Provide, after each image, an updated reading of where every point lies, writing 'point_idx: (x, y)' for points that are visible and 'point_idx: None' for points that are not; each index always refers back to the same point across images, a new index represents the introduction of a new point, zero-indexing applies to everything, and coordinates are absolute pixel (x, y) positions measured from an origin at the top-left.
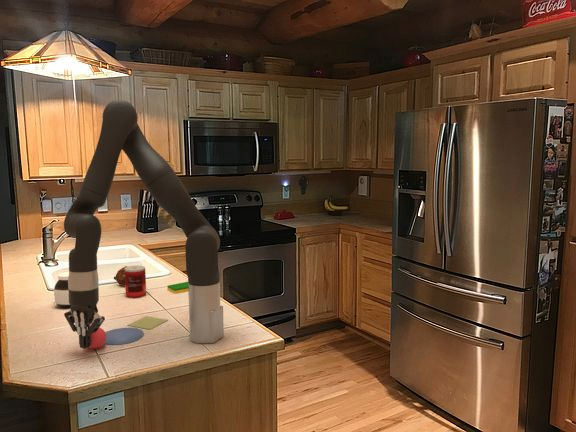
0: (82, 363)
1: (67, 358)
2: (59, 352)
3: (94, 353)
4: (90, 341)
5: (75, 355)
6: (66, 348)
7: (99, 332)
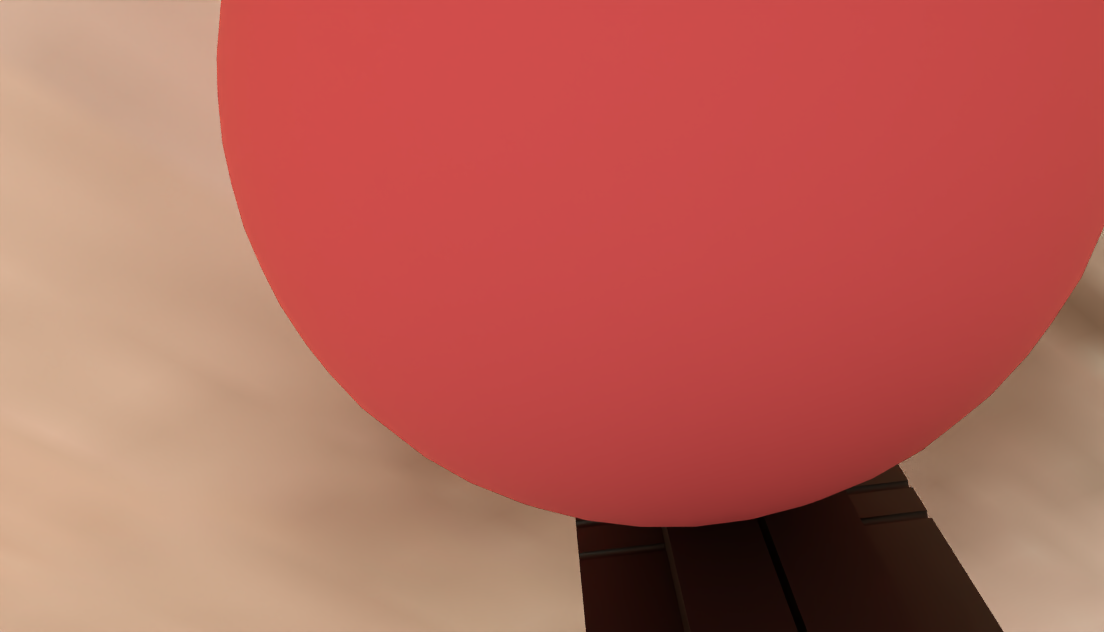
0: None
1: (544, 627)
2: (144, 564)
3: None
4: (909, 494)
5: None
6: (40, 397)
7: (1094, 218)
